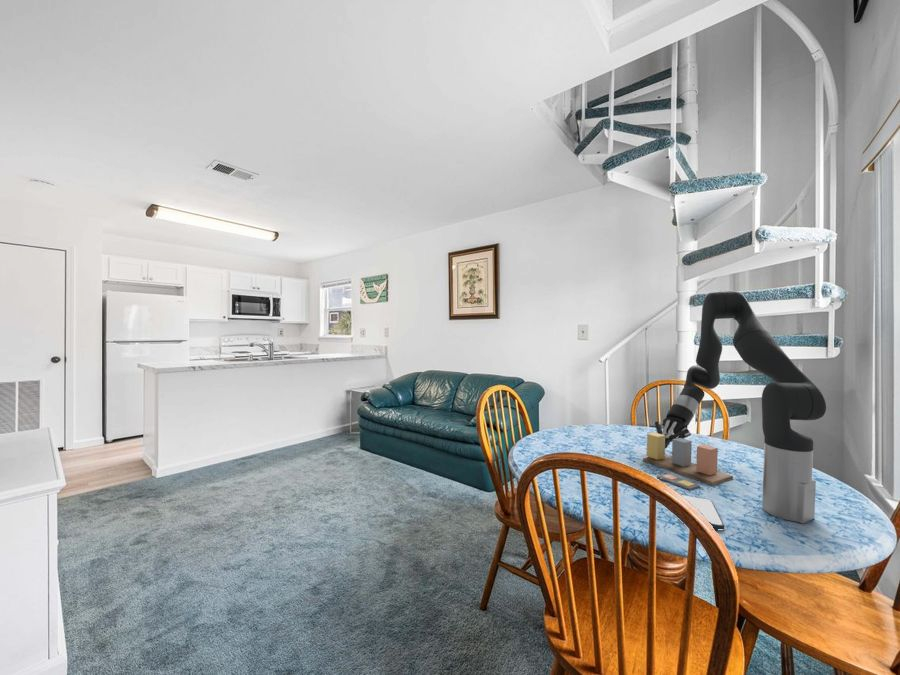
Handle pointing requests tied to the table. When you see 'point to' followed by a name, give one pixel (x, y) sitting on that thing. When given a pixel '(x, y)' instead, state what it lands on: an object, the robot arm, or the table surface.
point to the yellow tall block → (656, 446)
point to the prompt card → (678, 481)
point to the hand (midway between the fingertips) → (660, 447)
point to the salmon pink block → (706, 459)
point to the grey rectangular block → (681, 451)
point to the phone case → (707, 510)
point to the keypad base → (689, 470)
